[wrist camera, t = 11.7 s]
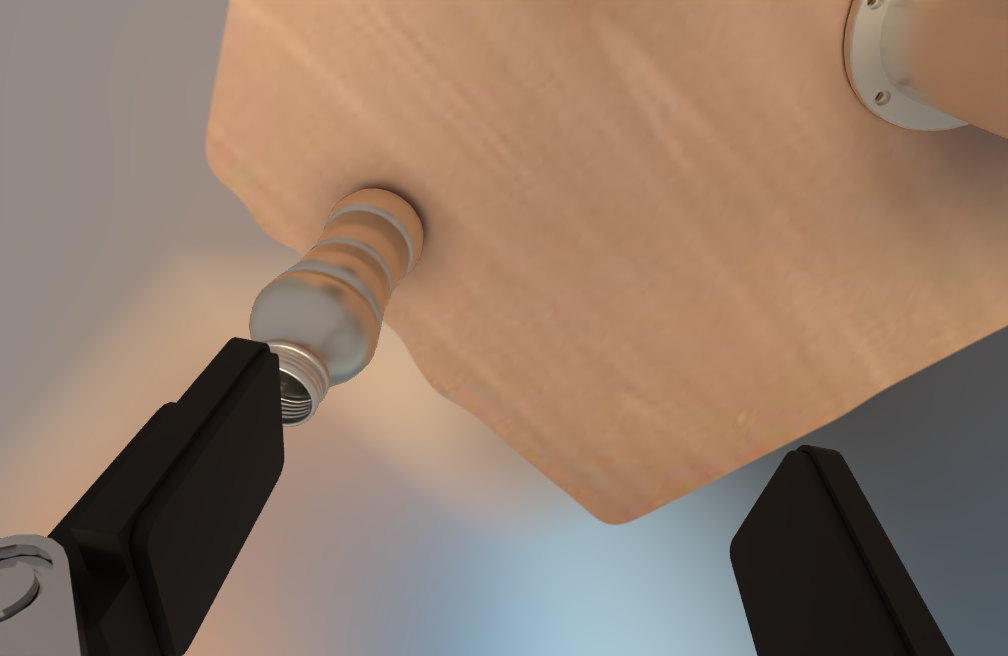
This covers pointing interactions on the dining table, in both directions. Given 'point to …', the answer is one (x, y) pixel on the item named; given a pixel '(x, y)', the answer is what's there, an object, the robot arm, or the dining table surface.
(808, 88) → the dining table surface
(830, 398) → the dining table surface
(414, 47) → the dining table surface
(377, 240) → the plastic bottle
